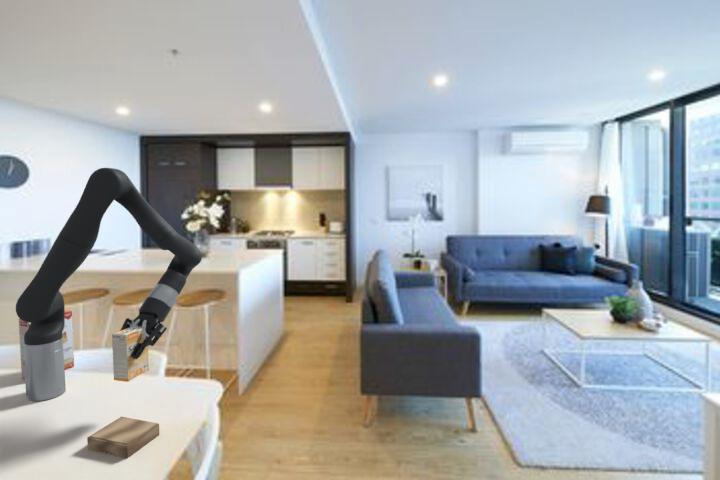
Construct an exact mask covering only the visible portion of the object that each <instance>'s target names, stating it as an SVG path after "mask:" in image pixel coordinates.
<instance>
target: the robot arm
mask: <svg viewBox="0 0 720 480" xmlns="http://www.w3.org/2000/svg"><path fill="white" fill-rule="evenodd" d="M114 201H115V202H117V203H118V204H119V205H120V206H122V207H123V208H125V210H126V211H128V212H129V214H130V215H131V216H132V218H133V219H134V220H135V222H136V223H137V225H138V226H139V228H140V229H141V230H142V232H144V234H145V235H146V236H147V237H148V238H149V239H150V240H151V241H152V242H153V243H154V244H155V245H156V246H157V247H158V248H159V249H160V250H162V251H169V252H170V253H172V255H174V256H173V257H172V259H171V261H170V262H169V265H168V266H167V268H166V271H165V272H164V273H163V275H162V276H161V277H160V279H159V280H158V282H157V283H156V284H155V286H154V287H153V288H152V290H151V291H150V292H149V293H148V295H147V297H146V298H145V300H144V302H143V303H142V304H141V306H140V307H139V309H138V315H137V316H136V317H135V318H134V319H130V317H127V318H125V320H124V322H123V324H122V326H121V328H120V330H119V331H121V330H124V329H126V328H129V327H136V326H141V327H142V328H143V329H142V331H141V333H140V335H141V338H140V342H139V343H140V344H139V343H138V344H137V346H136V347H135V349H134V350H133V352H132V354H131V357H132V358H134V359H138V358H139V357H140V356H141V354H142V352H143V351H144V349H145V347H148V348H149V346H151V347H154V346H155V344H156V343H157V342H158V341H159V340H160V338H161V337H162V335H163V334H164V333H165V332H166V331H167V330H168V329H167V327H166V326H165V325H164V324H163V323H164V321H166V318H168V315H169V314H170V312H171V310H172V309H173V307H174V305H175V304H176V302H177V299H178V297H179V295H180V293H181V292H182V290H183V289H184V287H185V285H186V282H187V279H188V276H190V273H191V272H192V271H193V270H194V268H196V267H197V266H198V265H199V264H200V263H201V261H202V259H203V255H202V251H201V250H200V248H199V247H198V246H197V245H195V243H193V242H191V240H189V239H187V238H186V237H185V236H182V235H181V234H179V232H177V231H176V230H175V229H174V228H173V226H171V224H169V223H168V222H167V221H166V219H164V218H163V217H162V216H161V214H159V213H158V212H157V211H156V210H155V209H154V207H152V206H151V205H150V203H149V202H148V201H147V200H146V199H145V197H143V195H142V194H141V192H140V191H139V190H138V189H137V187H136V186H135V185H134V183H133V182H132V180H131V179H130V177H129V176H128V175H127V174H126V173H125V172H124V171H122V170H120V169H117V168H110V167H101V168H97V169H96V170H94V171H93V172H92V173H91V174H90V176H89V177H88V180H87V181H86V185H85V187H84V189H83V191H82V194H81V197H80V199H79V201H78V203H77V204H76V206H75V208H74V210H73V211H72V212H71V214H70V216H69V217H68V219H67V221H66V222H65V224H64V225H63V227H62V229H61V230H60V231H59V232H58V235H57V237H56V238H55V240H54V241H53V243H52V246H51V248H50V249H49V252H48V253H47V255H46V257H45V258H44V260H43V261H42V264H41V265H40V267H39V269H38V270H37V272H36V274H35V275H34V277H33V279H32V280H31V281H30V283H29V284H28V285H27V287H26V288H25V289H24V290H23V292H22V293H21V294H20V296H19V298H18V299H17V301H16V304H15V312H16V313H15V314H16V315H17V317H18V319H21V320H23V321H25V322H31V324H30V327H29V329H28V330H27V332H26V333H25V335H24V345H25V358H26V366H25V367H24V371H25V379H24V380H25V381H24V384H25V393H26V394H25V395H26V397H27V399H28V400H29V401H32V402H40V401H46V400H50V399H55V398H58V397H59V396H61V395H63V394H65V392H66V390H67V389H66V371H65V370H66V369H64V353H63V338H62V332H63V329H64V325H65V310H66V309H65V300H64V296H63V294H62V292H61V291H60V289H61V287H62V286H63V285H64V283H65V282H66V281H67V280H68V279H69V278H70V276H71V277H72V275H73V274H74V273H75V272H76V271H77V270H78V269H79V268H80V266H81V265H83V264H84V262H85V261H86V259H87V258H88V256H90V255H89V254H90V253H91V251H92V249H93V248H94V246H95V245H96V241H97V239H98V237H99V232H100V227H101V223H102V220H103V217H104V215H105V214H106V213H107V210H108V209H109V207H110V206H111V205H112V203H113V202H114Z"/></svg>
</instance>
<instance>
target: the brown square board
mask: <svg viewBox="0 0 720 480" xmlns="http://www.w3.org/2000/svg"><path fill="white" fill-rule="evenodd" d="M158 436H160V423H157V422H153V421H146V420H141V419H136V418H130V417H126V416H120V417H118V418H117V419H115V420H113V421H112V422H111V423H109V424H107V425H106V426H104V427H102V428H99V430H97V431H95V432H94V433H92V434H91V435H89V436H87V437H86V438H87V439H86V441H87V449H88V451H89V450H90V451H94V452H98V451H99V452H100V453H103V452H105V453H104V454H107V453H109V455H112V454H113V455H112V456H117V457H122V458H125V457H126V459H129V458H130V457H131V456H133V455H134V454H135V453H137V452H138V451H140V450H141V449H143V448H144V447H145V446H146V445H148V444H149V443H150V442H152V441H153V440H154V439H155V438H157V437H158ZM99 452H98V453H99ZM128 457H129V458H128Z"/></svg>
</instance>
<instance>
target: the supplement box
mask: <svg viewBox="0 0 720 480" xmlns="http://www.w3.org/2000/svg"><path fill="white" fill-rule="evenodd" d="M142 329H143V328H142V327H141V326H136V327H129V328H126V329H124V330H121V329H120V330H121V331H120V330H118V331H117V332H113V333H111V343H112V365H113V366H112V367H113V368H112V369H113V380H114V381H118V382H127V383H128V382H130V381H132V380H134V379H135V378H137V377H139V376H140V375H142V374H144V373H145V372H148V371H149V370H150V362H149V361H150V360H149V359H150V358H149V355H150V354H149V346H148V347H145V349H144V351H143V352H142V354H141V356H140V357H139V358H138V359H134V358H132V357H131V354H132V352H133V350H134V349H135V347H136V346H137V344H138V343H139V342H140V338H141V335H140V333H141V331H142ZM139 344H140V343H139Z"/></svg>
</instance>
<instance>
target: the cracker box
mask: <svg viewBox="0 0 720 480" xmlns="http://www.w3.org/2000/svg"><path fill="white" fill-rule="evenodd" d="M30 324H31V322H25V321H23V320H21V319H20V318H18V332H19V333H18V334H19V349H20V350H19V351H20V367H21V369H20V370H21V379H23V380H25V371H24V367H25V366H26V358H25V345H24V335H25V333H26V332H27V330H28V329H29V327H30ZM62 338H63V353H64V369H65V370H69V369H70V368H74V367H75V355H74V331H73V311H72V310H70V309H65V325H64V329H63V332H62Z"/></svg>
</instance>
